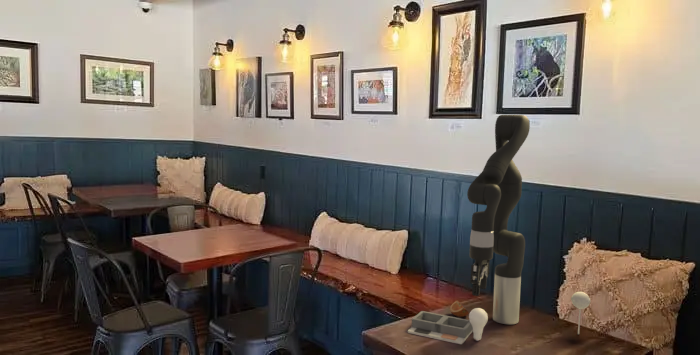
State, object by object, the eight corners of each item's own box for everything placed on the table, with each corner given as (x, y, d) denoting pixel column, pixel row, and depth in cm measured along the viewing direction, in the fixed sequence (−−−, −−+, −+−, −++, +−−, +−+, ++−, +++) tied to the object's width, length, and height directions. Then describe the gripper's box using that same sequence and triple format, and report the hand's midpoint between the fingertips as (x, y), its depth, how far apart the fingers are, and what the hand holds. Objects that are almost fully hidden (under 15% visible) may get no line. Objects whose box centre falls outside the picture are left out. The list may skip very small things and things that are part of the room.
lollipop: (587, 332, 191) (590, 290, 189) (588, 338, 185) (591, 295, 183) (568, 329, 193) (571, 288, 191) (569, 335, 187) (572, 293, 185)
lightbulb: (487, 345, 178) (488, 312, 177) (468, 343, 179) (469, 310, 178) (486, 337, 184) (487, 306, 183) (467, 336, 185) (469, 304, 184)
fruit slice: (471, 320, 200) (472, 307, 200) (454, 320, 199) (454, 307, 199) (464, 312, 208) (464, 299, 208) (447, 312, 207) (447, 300, 207)
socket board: (421, 320, 198) (421, 310, 198) (472, 331, 189) (473, 320, 189) (407, 332, 187) (408, 322, 186) (461, 344, 178) (462, 333, 177)
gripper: (487, 249, 170) (485, 299, 172) (498, 241, 183) (495, 288, 184) (464, 246, 174) (461, 295, 175) (476, 238, 186) (474, 284, 188)
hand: (479, 292), depth 180 cm, fingers open, 8 cm apart
